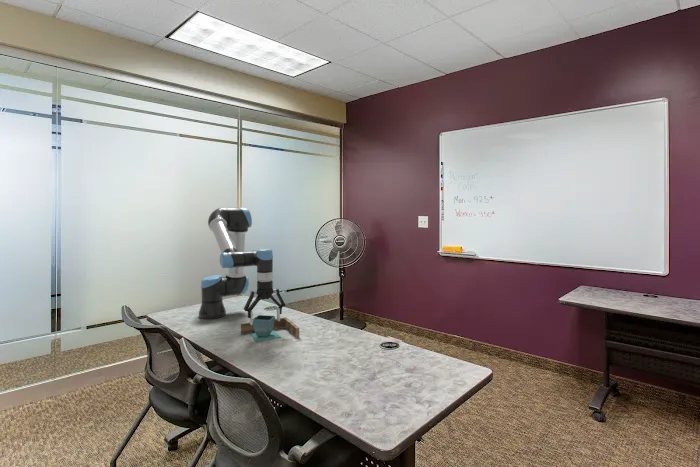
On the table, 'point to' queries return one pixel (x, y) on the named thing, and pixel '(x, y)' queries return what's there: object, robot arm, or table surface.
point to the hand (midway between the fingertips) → (265, 322)
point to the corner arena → (277, 324)
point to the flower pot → (263, 325)
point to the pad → (259, 338)
